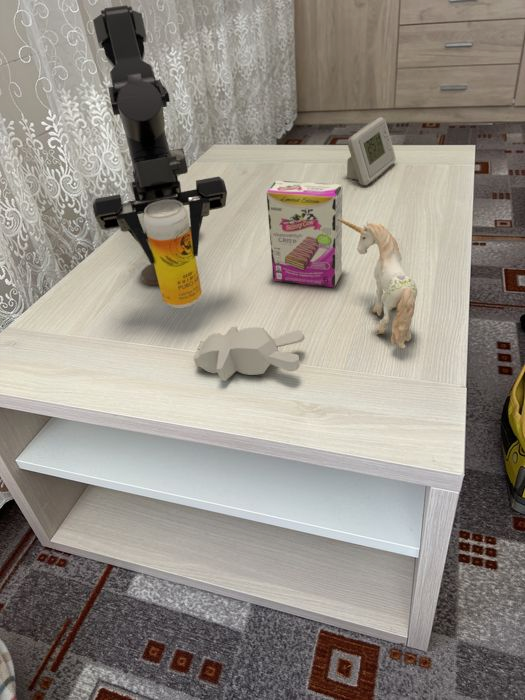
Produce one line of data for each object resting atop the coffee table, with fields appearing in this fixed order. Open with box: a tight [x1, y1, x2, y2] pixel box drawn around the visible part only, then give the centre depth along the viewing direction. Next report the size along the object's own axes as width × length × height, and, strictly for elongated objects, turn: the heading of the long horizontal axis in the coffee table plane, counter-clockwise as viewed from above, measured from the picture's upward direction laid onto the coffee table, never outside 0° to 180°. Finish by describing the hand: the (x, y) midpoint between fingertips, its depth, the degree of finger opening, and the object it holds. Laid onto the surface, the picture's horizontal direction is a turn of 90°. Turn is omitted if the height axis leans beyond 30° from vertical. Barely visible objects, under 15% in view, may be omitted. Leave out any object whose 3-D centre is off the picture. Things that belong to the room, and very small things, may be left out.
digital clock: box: [346, 116, 397, 186], centre depth 125 cm, size 16×9×11 cm, turn 134°
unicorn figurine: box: [336, 218, 418, 349], centre depth 80 cm, size 7×20×13 cm, turn 20°
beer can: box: [142, 199, 202, 309], centre depth 80 cm, size 6×6×15 cm
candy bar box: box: [266, 180, 343, 289], centre depth 90 cm, size 11×5×16 cm, turn 71°
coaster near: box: [140, 263, 159, 287], centre depth 100 cm, size 6×6×1 cm
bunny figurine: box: [192, 325, 305, 381], centre depth 77 cm, size 10×5×15 cm
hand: (174, 259), depth 79 cm, fingers closed on beer can, 6 cm apart
